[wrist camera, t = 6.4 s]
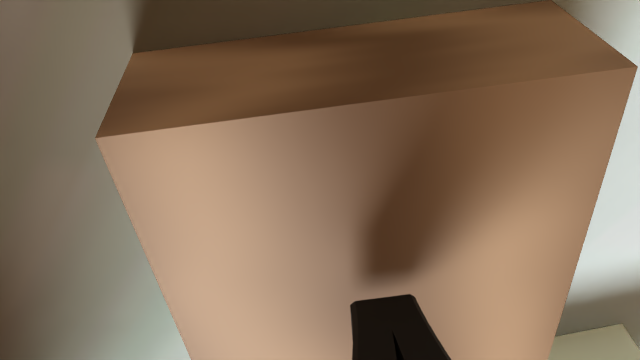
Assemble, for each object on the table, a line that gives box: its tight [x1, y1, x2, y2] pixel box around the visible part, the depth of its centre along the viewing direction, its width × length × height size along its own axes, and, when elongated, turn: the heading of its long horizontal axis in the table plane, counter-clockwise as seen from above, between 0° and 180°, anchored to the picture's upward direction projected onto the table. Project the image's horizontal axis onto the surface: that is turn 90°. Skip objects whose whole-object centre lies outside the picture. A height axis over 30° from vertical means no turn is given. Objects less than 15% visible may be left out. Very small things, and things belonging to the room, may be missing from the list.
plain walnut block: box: [95, 0, 638, 360], centre depth 14 cm, size 10×10×4 cm
